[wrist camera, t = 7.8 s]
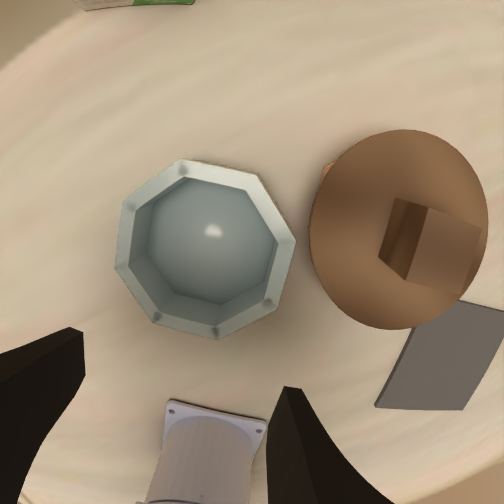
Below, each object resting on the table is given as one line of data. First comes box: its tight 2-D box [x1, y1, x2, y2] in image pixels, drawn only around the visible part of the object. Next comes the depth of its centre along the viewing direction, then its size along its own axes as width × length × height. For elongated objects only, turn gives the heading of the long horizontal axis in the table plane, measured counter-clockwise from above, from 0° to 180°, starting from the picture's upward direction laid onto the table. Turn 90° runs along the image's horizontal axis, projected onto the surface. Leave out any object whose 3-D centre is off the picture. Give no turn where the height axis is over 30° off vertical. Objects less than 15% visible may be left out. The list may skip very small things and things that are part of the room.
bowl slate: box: [115, 159, 296, 340], centre depth 18 cm, size 9×9×4 cm
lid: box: [309, 130, 488, 330], centre depth 13 cm, size 10×10×4 cm
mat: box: [374, 300, 504, 410], centre depth 21 cm, size 10×10×1 cm
